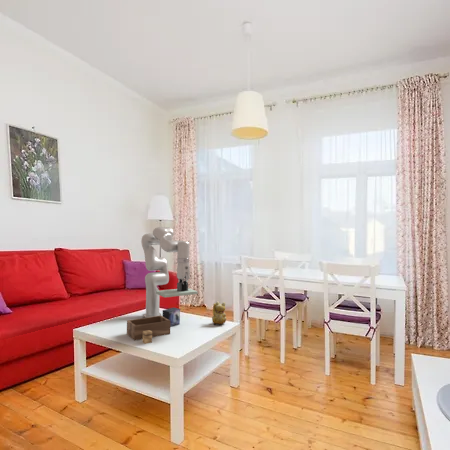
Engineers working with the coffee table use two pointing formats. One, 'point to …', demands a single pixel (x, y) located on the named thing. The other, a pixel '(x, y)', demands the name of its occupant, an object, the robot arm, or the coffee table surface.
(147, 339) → the wooden block
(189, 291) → the lid
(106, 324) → the coffee table surface
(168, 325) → the open brown wooden box
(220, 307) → the decorative figurine
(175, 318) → the small box
